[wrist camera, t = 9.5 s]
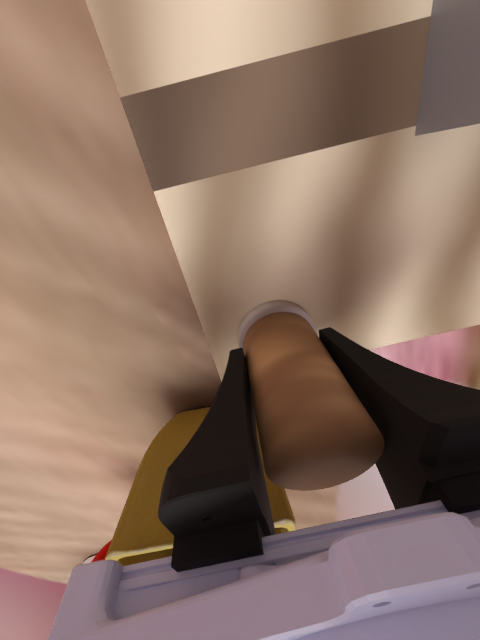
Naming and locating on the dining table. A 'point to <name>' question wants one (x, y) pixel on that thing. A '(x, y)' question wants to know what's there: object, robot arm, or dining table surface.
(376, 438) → the brown cylinder
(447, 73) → the box
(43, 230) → the dining table surface
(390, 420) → the robot arm
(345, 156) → the board
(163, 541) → the flower pot
